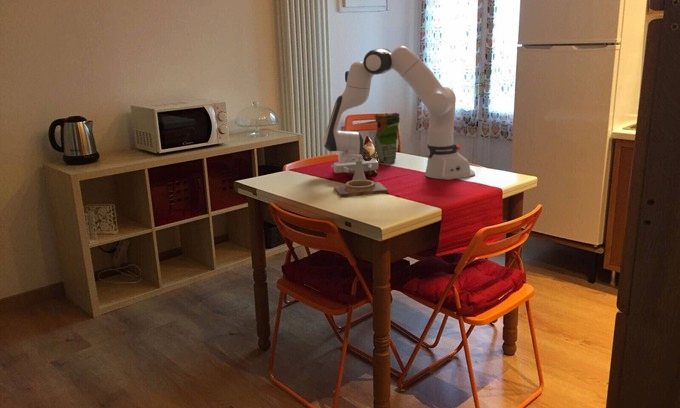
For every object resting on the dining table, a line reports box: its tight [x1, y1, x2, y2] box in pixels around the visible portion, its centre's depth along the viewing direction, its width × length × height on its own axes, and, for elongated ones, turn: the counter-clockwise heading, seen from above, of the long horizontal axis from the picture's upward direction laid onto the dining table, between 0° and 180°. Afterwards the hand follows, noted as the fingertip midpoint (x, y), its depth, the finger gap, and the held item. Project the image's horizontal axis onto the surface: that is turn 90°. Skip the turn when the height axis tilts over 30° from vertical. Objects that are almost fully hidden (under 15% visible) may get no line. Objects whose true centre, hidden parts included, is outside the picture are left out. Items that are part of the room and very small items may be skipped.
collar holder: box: [333, 179, 388, 199], centre depth 244 cm, size 20×13×4 cm, turn 102°
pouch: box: [373, 112, 401, 165], centre depth 292 cm, size 11×12×25 cm
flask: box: [351, 160, 368, 181], centre depth 257 cm, size 7×7×10 cm
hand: (359, 169), depth 256 cm, fingers open, 8 cm apart
